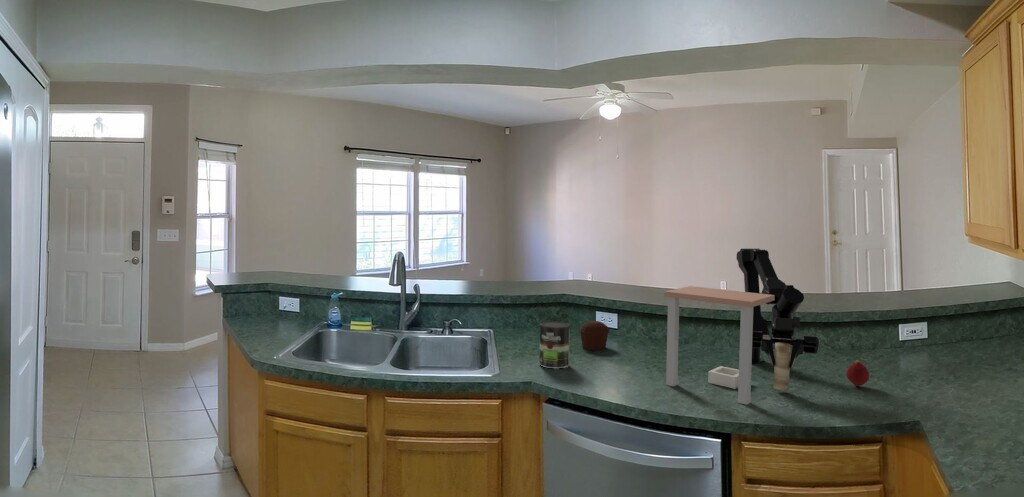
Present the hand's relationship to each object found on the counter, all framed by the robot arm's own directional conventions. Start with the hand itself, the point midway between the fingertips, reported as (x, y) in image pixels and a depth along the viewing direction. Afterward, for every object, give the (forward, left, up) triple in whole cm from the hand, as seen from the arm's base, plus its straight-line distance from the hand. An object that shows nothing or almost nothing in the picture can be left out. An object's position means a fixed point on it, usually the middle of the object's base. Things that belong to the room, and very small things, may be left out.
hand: (782, 367), depth 163 cm
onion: (-23, +13, -8) cm, 28 cm away
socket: (+1, -16, -8) cm, 17 cm away
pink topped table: (+9, -16, -8) cm, 19 cm away
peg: (-1, -1, -7) cm, 7 cm away
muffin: (-5, -71, -8) cm, 71 cm away
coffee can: (+24, -66, -8) cm, 70 cm away
